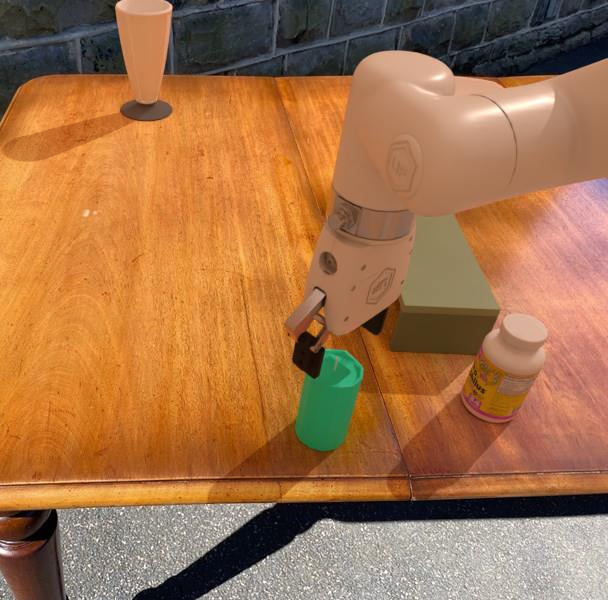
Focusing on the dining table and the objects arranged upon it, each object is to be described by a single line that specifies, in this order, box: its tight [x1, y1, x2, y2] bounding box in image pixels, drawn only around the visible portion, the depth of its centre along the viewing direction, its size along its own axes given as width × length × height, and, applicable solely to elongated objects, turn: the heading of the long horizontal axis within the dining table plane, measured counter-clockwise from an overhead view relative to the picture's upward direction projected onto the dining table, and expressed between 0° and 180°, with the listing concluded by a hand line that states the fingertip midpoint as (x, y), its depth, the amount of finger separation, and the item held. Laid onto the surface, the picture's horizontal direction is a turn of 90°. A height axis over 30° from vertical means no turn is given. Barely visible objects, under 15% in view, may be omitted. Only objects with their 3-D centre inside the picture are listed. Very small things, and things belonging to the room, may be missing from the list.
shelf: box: [388, 213, 502, 356], centre depth 92 cm, size 28×12×8 cm, turn 178°
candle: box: [294, 348, 365, 452], centre depth 69 cm, size 6×6×12 cm
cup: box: [114, 0, 173, 122], centre depth 132 cm, size 12×12×22 cm
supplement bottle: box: [460, 312, 549, 424], centre depth 73 cm, size 7×7×13 cm
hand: (337, 347), depth 65 cm, fingers open, 9 cm apart
